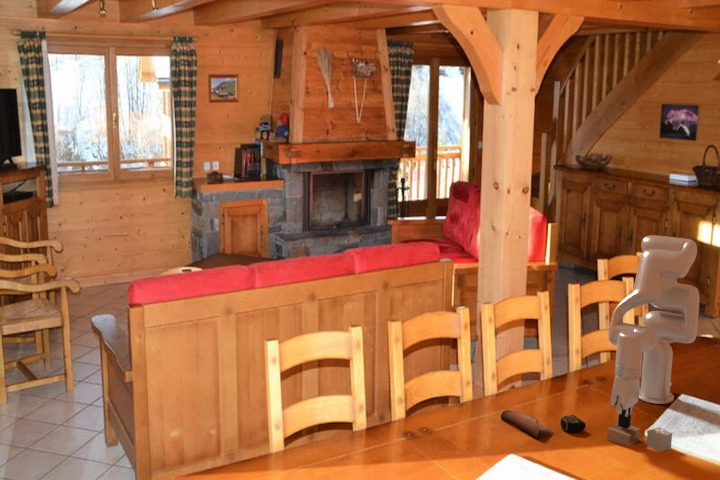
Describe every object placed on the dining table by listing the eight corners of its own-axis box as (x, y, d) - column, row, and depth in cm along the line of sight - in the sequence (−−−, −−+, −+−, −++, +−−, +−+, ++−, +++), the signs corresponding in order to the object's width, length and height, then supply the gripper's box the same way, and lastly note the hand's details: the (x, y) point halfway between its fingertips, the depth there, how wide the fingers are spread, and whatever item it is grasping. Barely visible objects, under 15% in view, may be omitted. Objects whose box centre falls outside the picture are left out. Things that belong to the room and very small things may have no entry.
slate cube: (657, 442, 236) (658, 426, 235) (670, 448, 232) (672, 432, 231) (646, 445, 233) (647, 430, 232) (660, 452, 229) (661, 436, 228)
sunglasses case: (557, 433, 241) (550, 419, 238) (543, 448, 239) (535, 434, 236) (519, 413, 256) (511, 399, 254) (505, 427, 254) (497, 413, 251)
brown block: (618, 433, 242) (619, 421, 241) (639, 440, 237) (639, 428, 236) (607, 440, 237) (608, 428, 237) (628, 447, 232) (629, 435, 232)
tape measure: (586, 432, 243) (587, 421, 242) (567, 435, 241) (568, 424, 240) (574, 423, 249) (574, 413, 248) (556, 426, 247) (556, 415, 246)
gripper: (627, 361, 240) (623, 415, 244) (605, 374, 230) (601, 430, 233) (650, 367, 235) (646, 423, 239) (628, 380, 225) (624, 438, 228)
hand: (623, 426), depth 236 cm, fingers closed
